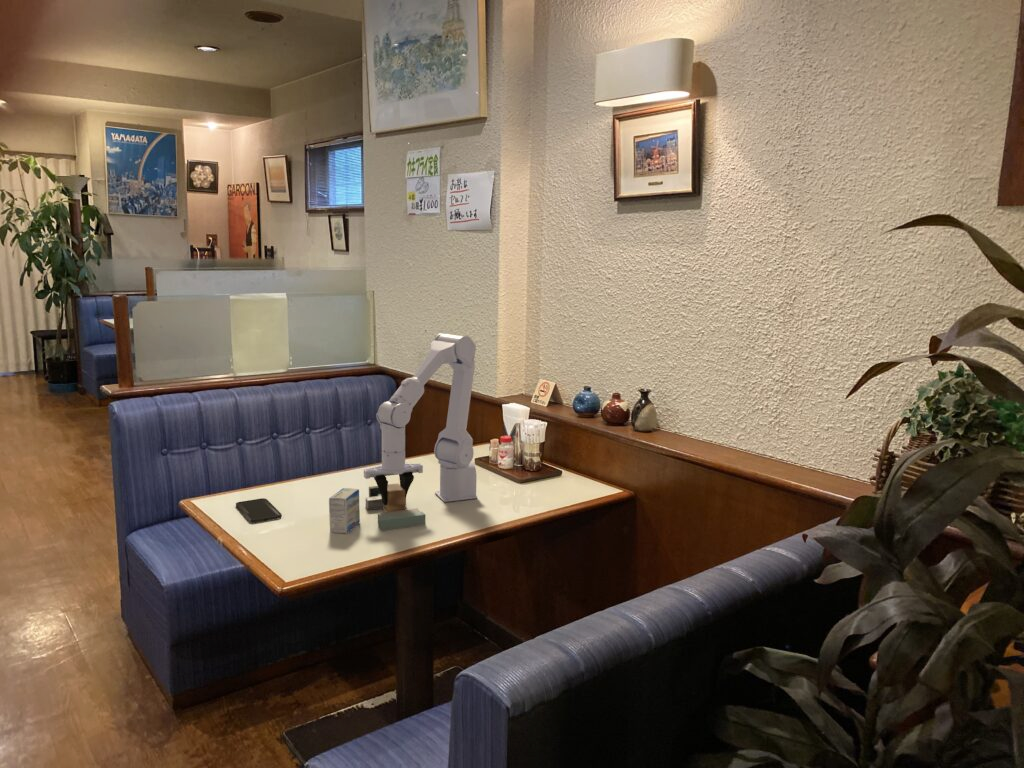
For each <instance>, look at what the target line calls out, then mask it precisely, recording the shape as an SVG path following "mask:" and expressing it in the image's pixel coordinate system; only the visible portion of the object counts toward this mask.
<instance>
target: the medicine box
mask: <svg viewBox="0 0 1024 768" xmlns="http://www.w3.org/2000/svg"><path fill="white" fill-rule="evenodd" d="M328 509H329V511H328V513H329V514H328V515H329V533H334V532H336V533H335V534H344V533H347V534H349V533H350V532H351V531H352V530H354V528H355V527H356V526H357V525H358V524H360V520H361V518H360V516H361V515H360V489H357V488H352V487H351V488H349V487H343V488H341V489H340V490H339V491H337V492H335V493H334V494H333V495H332V496H330V497H329V498H328ZM351 529H352V530H351ZM350 530H351V531H350ZM349 531H350V532H349Z"/></svg>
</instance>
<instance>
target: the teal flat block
mask: <svg viewBox="0 0 1024 768" xmlns="http://www.w3.org/2000/svg"><path fill="white" fill-rule="evenodd" d="M377 524H378V529H380V531H387V530H394V529H400V528H401V529H402V528H409V527H418V526H423V525H426V513H425V512H423V511H420V509H418V508H416V507H415V508H407V509H405V510H400V511H392V512H386V511H384V512H377Z"/></svg>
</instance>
